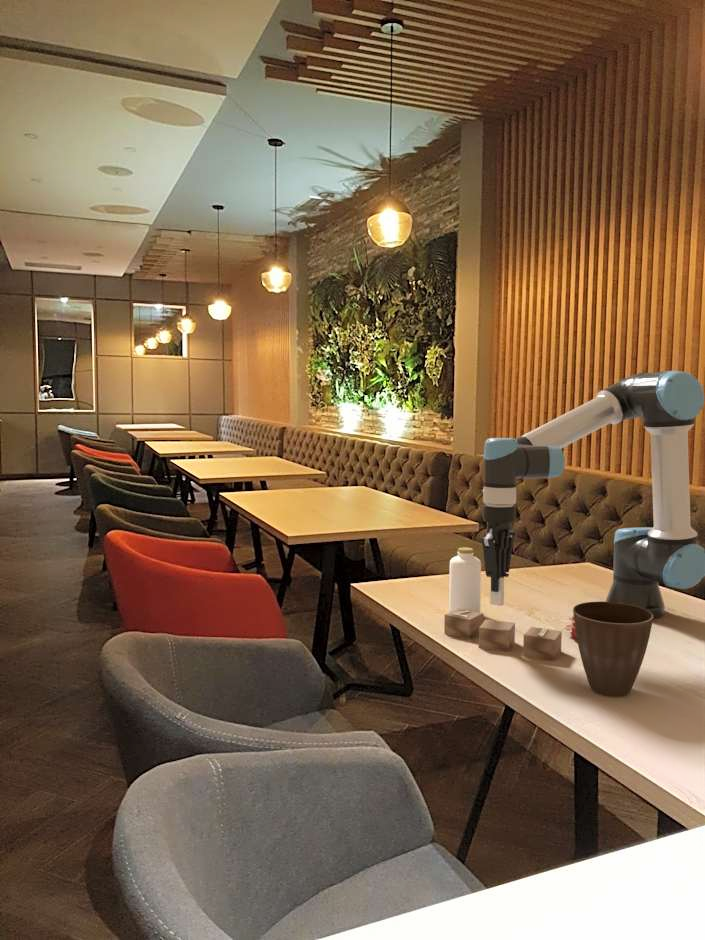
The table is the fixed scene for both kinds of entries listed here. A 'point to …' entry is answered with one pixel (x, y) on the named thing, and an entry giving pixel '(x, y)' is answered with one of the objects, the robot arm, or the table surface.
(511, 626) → the plain block
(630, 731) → the table surface
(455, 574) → the potion bottle
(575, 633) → the flower
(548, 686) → the table surface
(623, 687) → the plant pot
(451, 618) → the marked block seven
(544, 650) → the marked block one
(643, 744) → the table surface
